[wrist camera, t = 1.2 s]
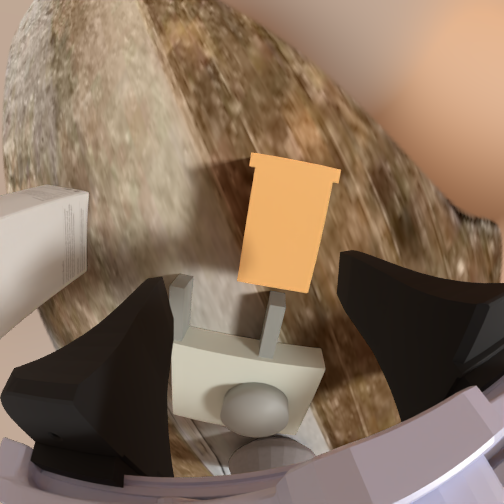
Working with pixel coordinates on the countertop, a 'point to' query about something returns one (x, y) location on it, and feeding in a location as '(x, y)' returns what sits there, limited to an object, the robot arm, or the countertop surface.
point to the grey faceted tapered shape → (268, 455)
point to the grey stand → (241, 372)
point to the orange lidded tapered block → (285, 221)
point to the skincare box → (39, 247)
